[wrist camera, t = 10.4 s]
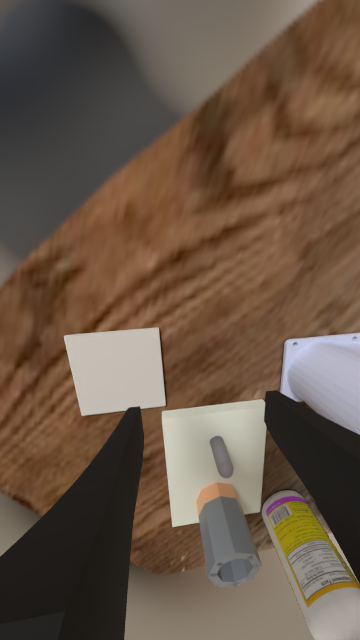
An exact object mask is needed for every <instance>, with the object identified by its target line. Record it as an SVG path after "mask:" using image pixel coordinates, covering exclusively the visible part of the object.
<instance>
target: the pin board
mask: <svg viewBox="0 0 360 640" xmlns="http://www.w3.org/2000/svg"><path fill="white" fill-rule="evenodd" d="M264 412H265V402H264V401H263V400H262V399H261V400H252V401H244V402H236V403H227V404H219V405H211V406H202V407H194V408H186V409H177V410H169V411H162V424H163V435H164V445H165V455H166V465H167V475H168V486H169V496H170V506H171V516H172V526H173V527H175V526H181V525H187V524H193V523H199V517H198V510H197V504H196V501H197V499H198V496H199V494H200V492H201V489H203V488H205V487H207V486H210V485H212V484H214V483H216V482H219V483H226V484H231V485H232V486H233V488H234V489H235V491H236V493H237V494H238V497H239V500H240V503H241V506H242V509H243V512H244V515H245V514H251V513H257V512H260V507H261V493H262V480H263V466H264V453H265V439H266V424H265V422H264Z"/></svg>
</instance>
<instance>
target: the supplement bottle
mask: <svg viewBox="0 0 360 640" xmlns="http://www.w3.org/2000/svg"><path fill="white" fill-rule="evenodd" d="M262 517H263V520H264V523H265V525H266V528H267V530H268V532H269V535H270V537H271V540H272V542H273V544H274V547H275V549H276V551H277V554H278V556H279V559H280V561H281V563H282V566H283V567H284V570H285V573H286V575H287V578H288V580H289V582H290V585H291V587H292V590H293V592H294V594H295V597H296V599H297V601H298V604H299V606H300V609H301V611H302V614H303V616H304V618H305V621H306V623H307V625H308V628H309V630H310V632H311V634H312V636H313V637H314V639H315V640H360V585H359V583H358V582H357V580H356V579H355V577H354V575H353V574H352V572H351V571H350V569H349V568H348V566H347V565H346V563H345V561H344V560H343V558H342V557H341V555H340V554H339V552H338V551H337V549H336V547H335V546H334V544H333V543H332V541H331V540H330V538H329V536H328V535H327V533H326V532H325V530H324V529H323V527H322V526H321V524H320V522H319V521H318V519H317V518H316V516H315V515H314V513H313V512H312V510H311V508H310V507H309V505H308V504H307V502H306V501H305V499H304V498H303V497H302V496H301V495H300V494H299V493H297V492H295V491H292V490H284V491H279V492H277V493H274V494H273V495H271V496H270V497H269V498H268V499H267V500H266V501H265V503H264V504H263V507H262Z"/></svg>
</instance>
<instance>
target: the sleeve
mask: <svg viewBox="0 0 360 640" xmlns="http://www.w3.org/2000/svg"><path fill="white" fill-rule="evenodd" d="M196 504H197V510H198V517H199V523H200V530H201V536H202V543H203V549H204V556H205V563H206V569H207V575H208V577H209V579H210V580H211V581H212V582H213V583H214V584H215V585H216V586H217V587H237V586H239V585H241V584H243V583H245V582H247V581H249V580H251V579H254V577H255V575H256V574H257V572H258V570H259V569H260V567H261V565H262V564H261V561H260V558H259V555H258V552H257V549H256V547H255V544H254V541H253V538H252V535H251V532H250V529H249V526H248V523H247V520H246V518H245V515H244V512H243V509H242V506H241V503H240V500H239V497H238V494H237V493H236V491H235V489H234V488H233V486H232V485H231V484H226V483H219V482H216V483H214V484H212V485H210V486H207V487H205V488H203V489H201V492H200V494H199V496H198V499H197V501H196Z"/></svg>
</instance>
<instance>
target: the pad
mask: <svg viewBox="0 0 360 640" xmlns="http://www.w3.org/2000/svg"><path fill="white" fill-rule="evenodd" d="M64 340H65V344H66V349H67V353H68V357H69V362H70V366H71V371H72V375H73V379H74V384H75V388H76V392H77V397H78V401H79V406H80V410H81V414H82V416H84V415H92V414H101V413H109V412H118V411H126V410H127V409H128V408H129V407H137V406H140V409H143V408H152V407H160V406H166V402H165V391H164V379H163V368H162V357H161V346H160V335H159V327H158V328H146V329H133V330H121V331H109V332H97V333H85V334H73V335H65V336H64Z"/></svg>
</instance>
